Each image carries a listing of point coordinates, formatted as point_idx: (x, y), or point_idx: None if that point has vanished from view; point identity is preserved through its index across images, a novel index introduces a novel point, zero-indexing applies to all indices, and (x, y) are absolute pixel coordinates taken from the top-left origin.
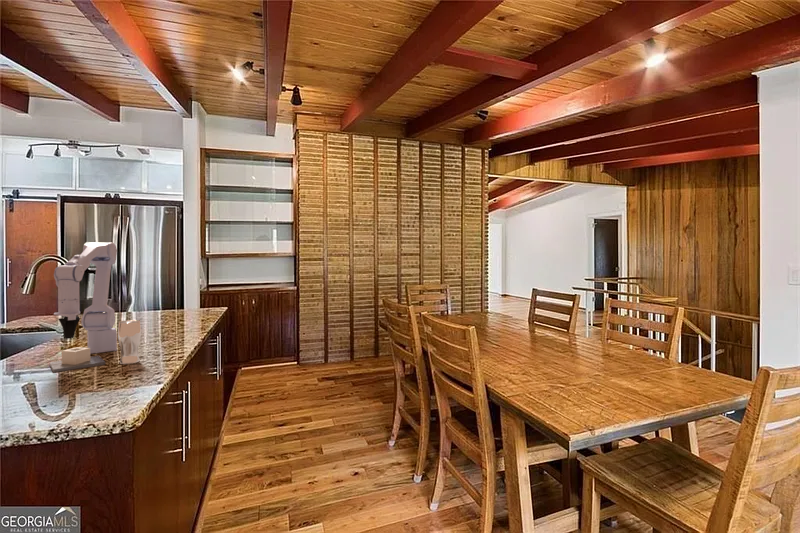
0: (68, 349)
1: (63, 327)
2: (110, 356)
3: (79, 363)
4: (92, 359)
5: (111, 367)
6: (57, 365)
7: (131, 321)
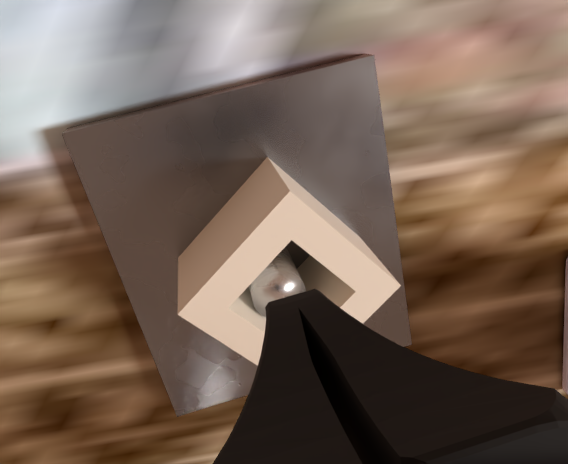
0: (328, 237)
1: (242, 415)
2: None
3: None
4: None
5: (72, 448)
6: (211, 137)
7: None
